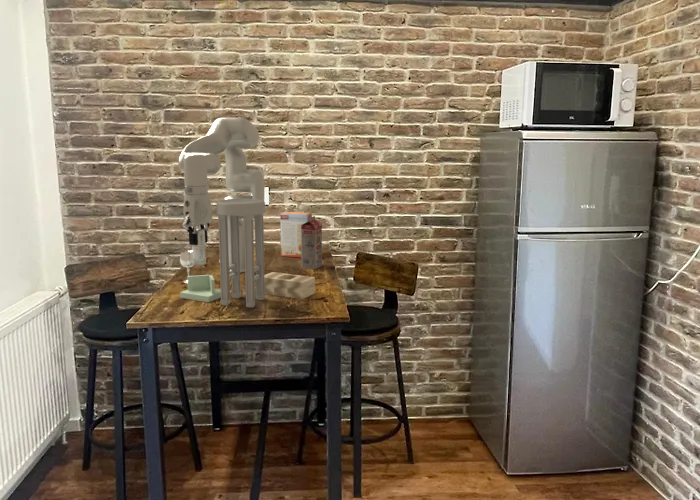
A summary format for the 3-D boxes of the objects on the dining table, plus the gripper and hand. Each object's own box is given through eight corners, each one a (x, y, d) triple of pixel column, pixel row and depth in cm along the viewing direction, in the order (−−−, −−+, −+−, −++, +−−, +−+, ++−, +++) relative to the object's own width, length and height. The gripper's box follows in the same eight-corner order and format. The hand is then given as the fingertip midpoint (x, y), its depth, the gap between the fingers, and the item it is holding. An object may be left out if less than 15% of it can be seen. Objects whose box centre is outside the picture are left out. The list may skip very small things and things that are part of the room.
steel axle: (200, 265, 201) (199, 231, 199) (190, 264, 203) (188, 230, 201) (208, 263, 205) (207, 229, 203) (198, 261, 207) (197, 228, 205)
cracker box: (312, 256, 278) (312, 212, 274) (307, 258, 272) (307, 214, 268) (286, 254, 282) (285, 211, 278) (280, 256, 277) (279, 212, 273)
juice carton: (301, 267, 254) (301, 217, 250) (308, 264, 260) (308, 215, 256) (315, 268, 252) (315, 218, 248) (321, 265, 258) (321, 216, 254)
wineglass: (182, 283, 225) (181, 253, 223) (179, 280, 230) (178, 250, 228) (197, 282, 228) (196, 252, 225) (194, 279, 233) (193, 249, 230)
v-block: (198, 291, 214) (197, 272, 213) (225, 295, 209) (224, 276, 208) (180, 297, 206) (179, 278, 205) (208, 302, 201) (207, 282, 200)
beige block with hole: (259, 293, 213) (259, 277, 212) (273, 287, 221) (272, 271, 220) (302, 299, 206) (302, 282, 205) (314, 293, 214) (314, 277, 213)
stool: (272, 297, 208) (270, 199, 201) (256, 309, 193) (253, 204, 186) (232, 294, 211) (229, 197, 204) (212, 306, 196) (208, 202, 190)
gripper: (188, 193, 190) (190, 248, 194) (220, 189, 205) (222, 240, 209) (170, 192, 193) (173, 246, 197) (203, 188, 208) (205, 239, 212)
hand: (198, 243), depth 203 cm, fingers closed on steel axle, 4 cm apart
